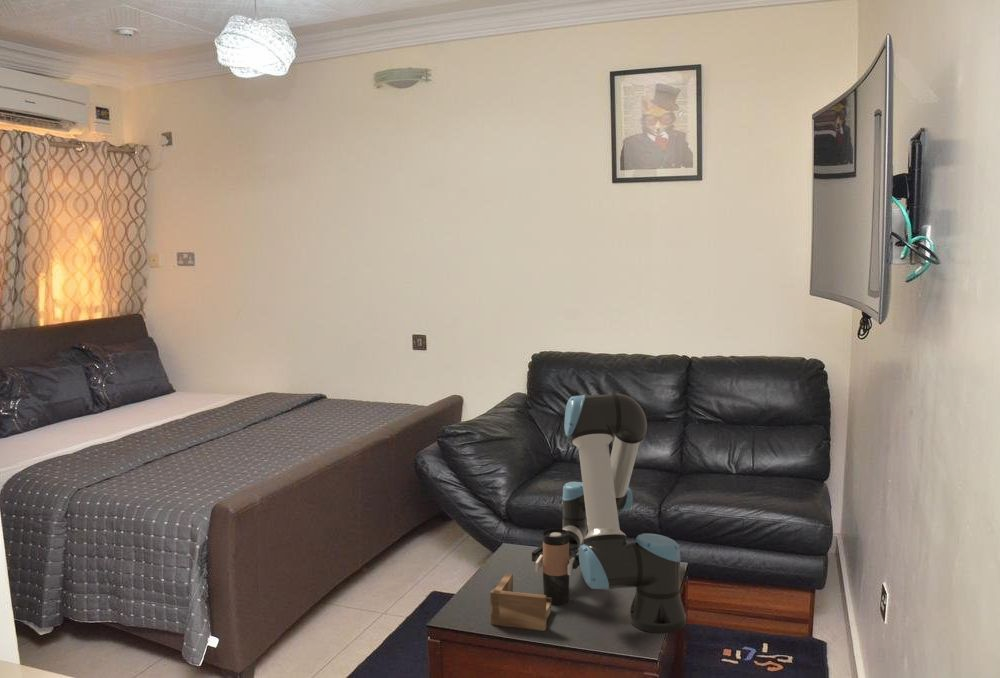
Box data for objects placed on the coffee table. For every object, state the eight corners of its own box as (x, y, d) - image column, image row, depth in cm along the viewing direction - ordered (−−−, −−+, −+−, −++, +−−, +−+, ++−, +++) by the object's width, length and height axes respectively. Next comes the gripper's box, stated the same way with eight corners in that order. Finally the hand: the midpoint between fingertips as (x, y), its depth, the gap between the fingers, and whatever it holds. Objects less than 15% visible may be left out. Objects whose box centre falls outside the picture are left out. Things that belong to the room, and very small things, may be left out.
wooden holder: (504, 603, 239) (504, 573, 238) (555, 608, 235) (555, 578, 234) (490, 624, 226) (490, 592, 225) (544, 630, 222) (544, 598, 221)
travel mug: (574, 597, 243) (573, 531, 240) (561, 607, 236) (561, 539, 234) (550, 592, 247) (550, 526, 245) (538, 601, 240) (537, 534, 238)
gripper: (602, 556, 255) (590, 585, 233) (534, 550, 261) (516, 578, 239) (602, 533, 254) (590, 559, 232) (534, 527, 260) (515, 552, 238)
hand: (552, 568), depth 236 cm, fingers open, 9 cm apart
